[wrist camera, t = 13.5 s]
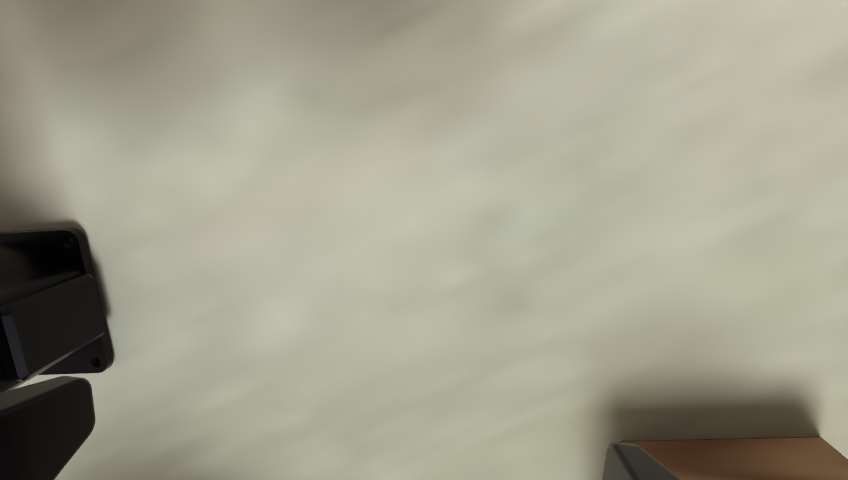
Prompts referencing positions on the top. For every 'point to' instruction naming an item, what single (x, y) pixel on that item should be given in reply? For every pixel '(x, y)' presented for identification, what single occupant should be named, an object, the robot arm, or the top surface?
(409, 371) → the top surface
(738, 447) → the walnut square holder
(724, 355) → the top surface
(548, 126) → the top surface
